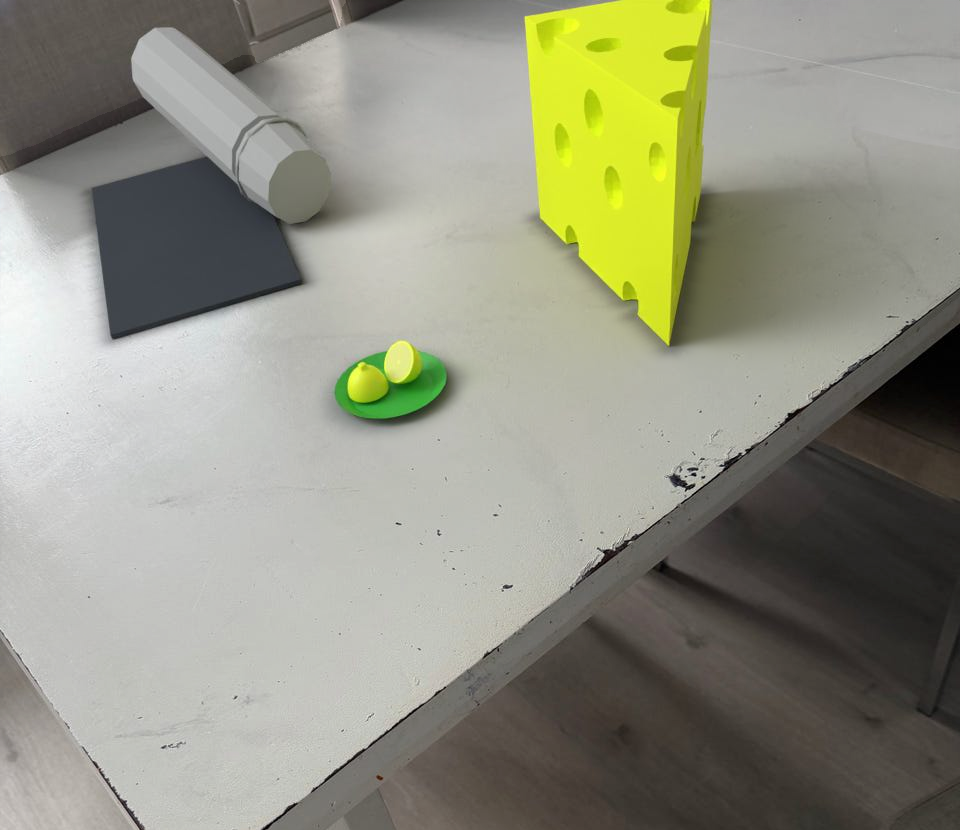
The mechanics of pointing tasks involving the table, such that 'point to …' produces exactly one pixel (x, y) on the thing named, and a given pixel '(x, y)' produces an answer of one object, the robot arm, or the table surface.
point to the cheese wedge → (623, 139)
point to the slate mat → (184, 246)
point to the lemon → (390, 382)
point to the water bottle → (232, 125)
